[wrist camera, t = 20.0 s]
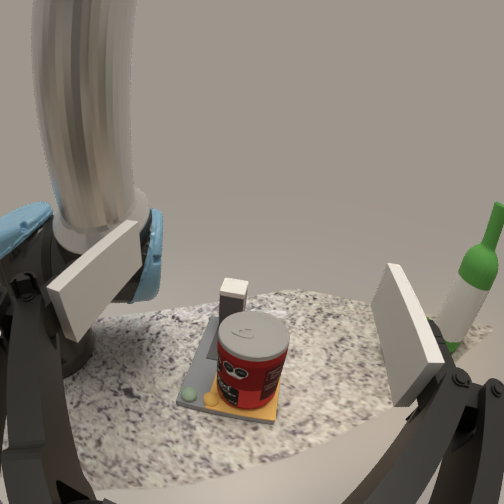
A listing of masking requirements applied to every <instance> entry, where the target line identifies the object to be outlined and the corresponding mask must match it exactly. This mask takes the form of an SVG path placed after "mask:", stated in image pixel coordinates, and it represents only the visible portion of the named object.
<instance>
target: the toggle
mask: <svg viewBox="0 0 504 504" xmlns="http://www.w3.org/2000/svg"><path fill="white" fill-rule="evenodd" d="M248 283H249V282H248V281H243V280H237V279H231V278H225V280H224V282H223V284H222V287H221V289H220V294H219V295H220V304H219V326H220V324H221V323H222V321H223V320H224V319H225V318H227V317H228V316H230V315H232V314H235V313H238V312H243V311H245V308H246V298H247V289H248Z"/></svg>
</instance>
